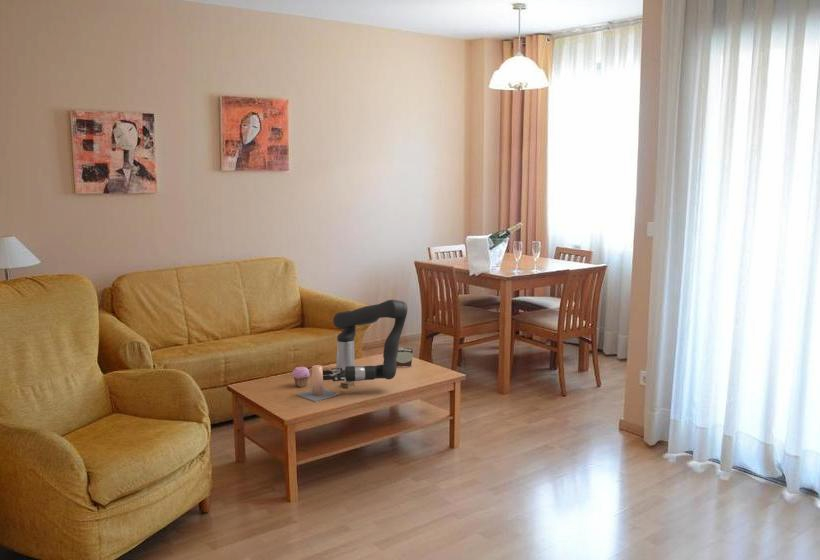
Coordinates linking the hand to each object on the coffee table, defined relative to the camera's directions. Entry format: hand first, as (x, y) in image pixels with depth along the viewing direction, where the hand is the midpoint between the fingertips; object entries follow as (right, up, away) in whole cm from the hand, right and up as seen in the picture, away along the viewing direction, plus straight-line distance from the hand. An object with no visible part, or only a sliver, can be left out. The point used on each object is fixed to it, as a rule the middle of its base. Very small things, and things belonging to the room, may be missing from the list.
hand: (322, 375), depth 359 cm
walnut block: (+11, -8, +16) cm, 21 cm away
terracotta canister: (-2, -9, +1) cm, 10 cm away
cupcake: (-13, -8, +16) cm, 22 cm away
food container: (+39, -2, +54) cm, 67 cm away
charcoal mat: (-2, -10, +1) cm, 10 cm away
